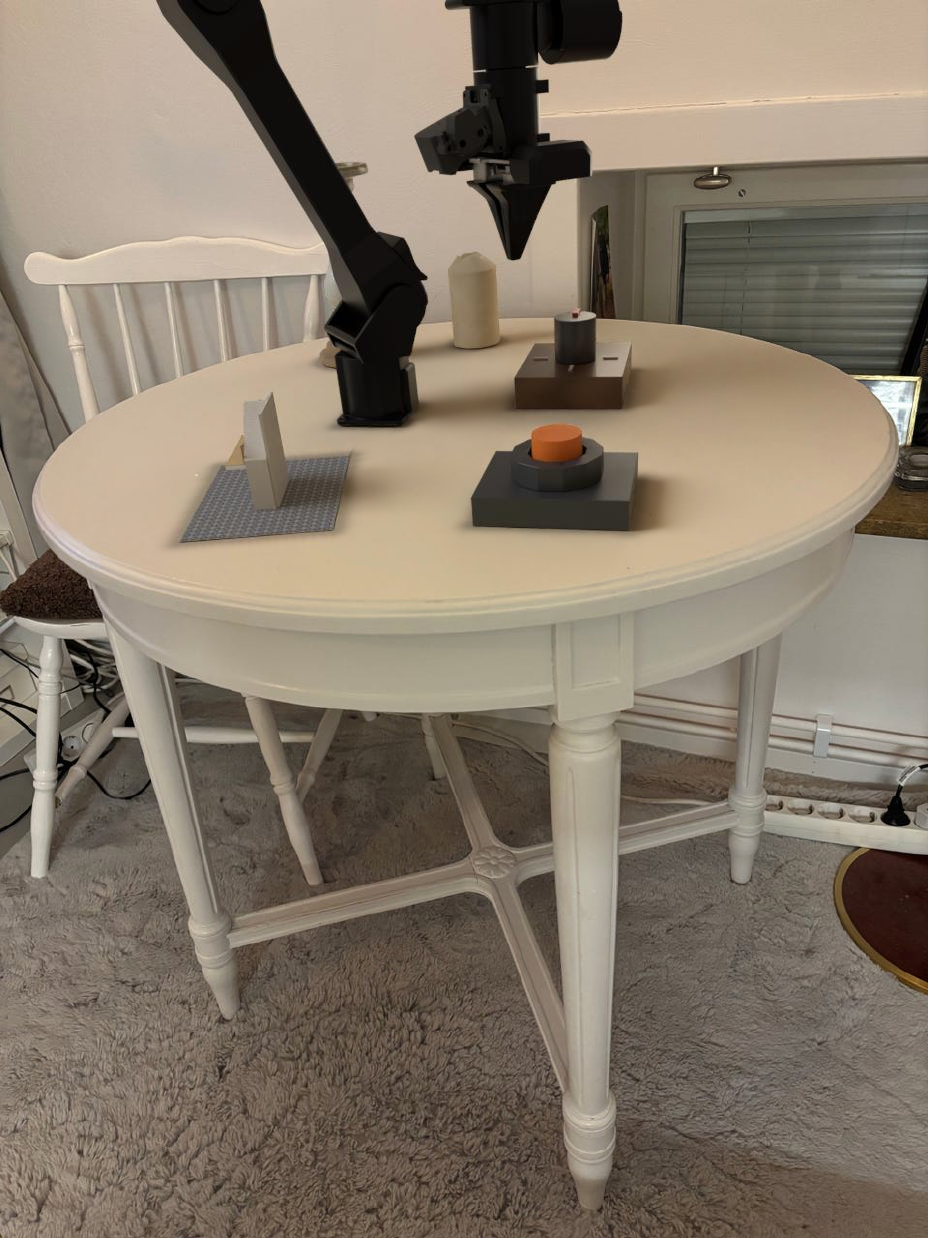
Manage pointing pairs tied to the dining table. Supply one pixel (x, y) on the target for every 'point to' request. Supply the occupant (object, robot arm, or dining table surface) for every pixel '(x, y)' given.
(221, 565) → the dining table surface
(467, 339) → the candle
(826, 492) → the dining table surface
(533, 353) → the panel
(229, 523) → the architectural model
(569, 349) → the knob
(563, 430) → the spray button
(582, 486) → the push button base
